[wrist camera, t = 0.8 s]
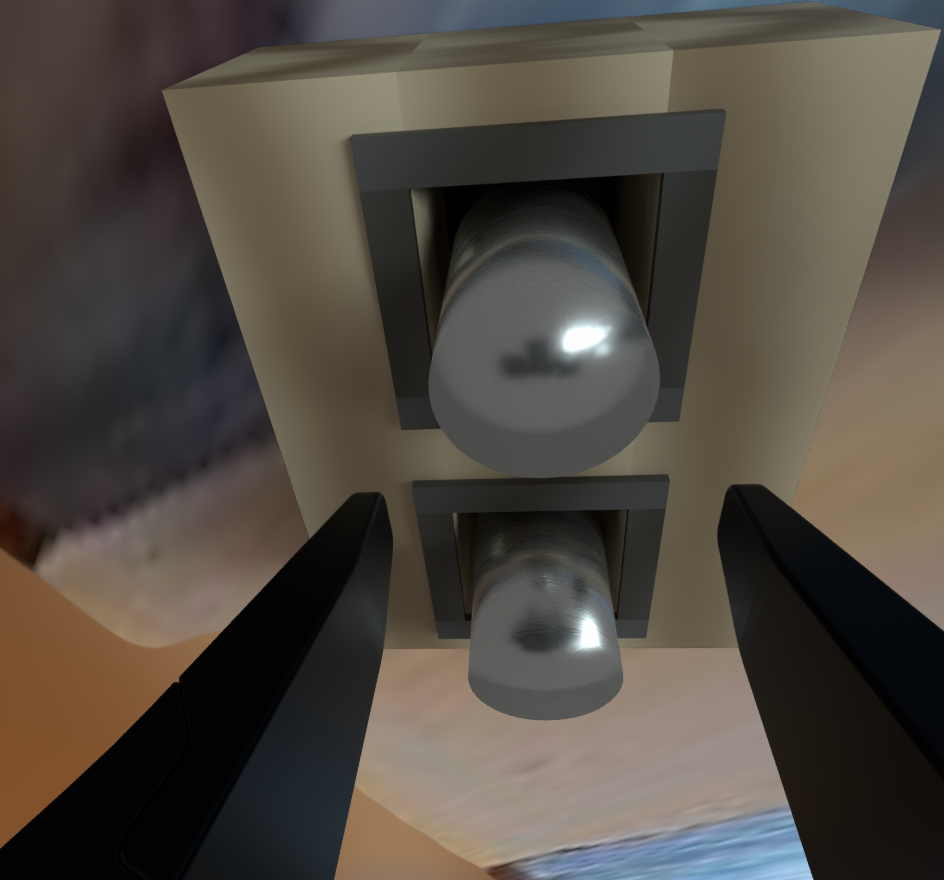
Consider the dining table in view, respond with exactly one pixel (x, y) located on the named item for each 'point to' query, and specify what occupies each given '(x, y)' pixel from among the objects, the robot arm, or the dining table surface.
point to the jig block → (637, 233)
